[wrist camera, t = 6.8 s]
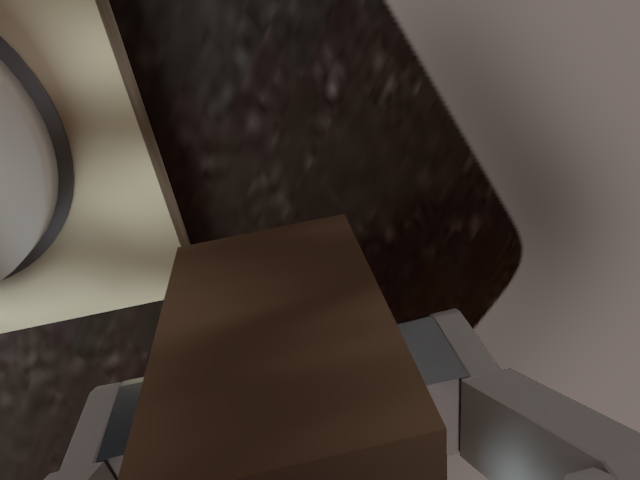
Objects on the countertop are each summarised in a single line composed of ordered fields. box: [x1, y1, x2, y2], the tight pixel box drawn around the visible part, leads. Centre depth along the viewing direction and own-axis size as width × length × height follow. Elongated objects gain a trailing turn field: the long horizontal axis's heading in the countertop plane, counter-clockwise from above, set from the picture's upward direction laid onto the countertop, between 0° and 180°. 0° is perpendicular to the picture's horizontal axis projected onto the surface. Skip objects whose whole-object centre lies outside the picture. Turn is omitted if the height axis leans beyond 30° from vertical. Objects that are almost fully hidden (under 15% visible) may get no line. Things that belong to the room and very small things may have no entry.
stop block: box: [118, 214, 447, 480], centre depth 8 cm, size 4×4×6 cm
